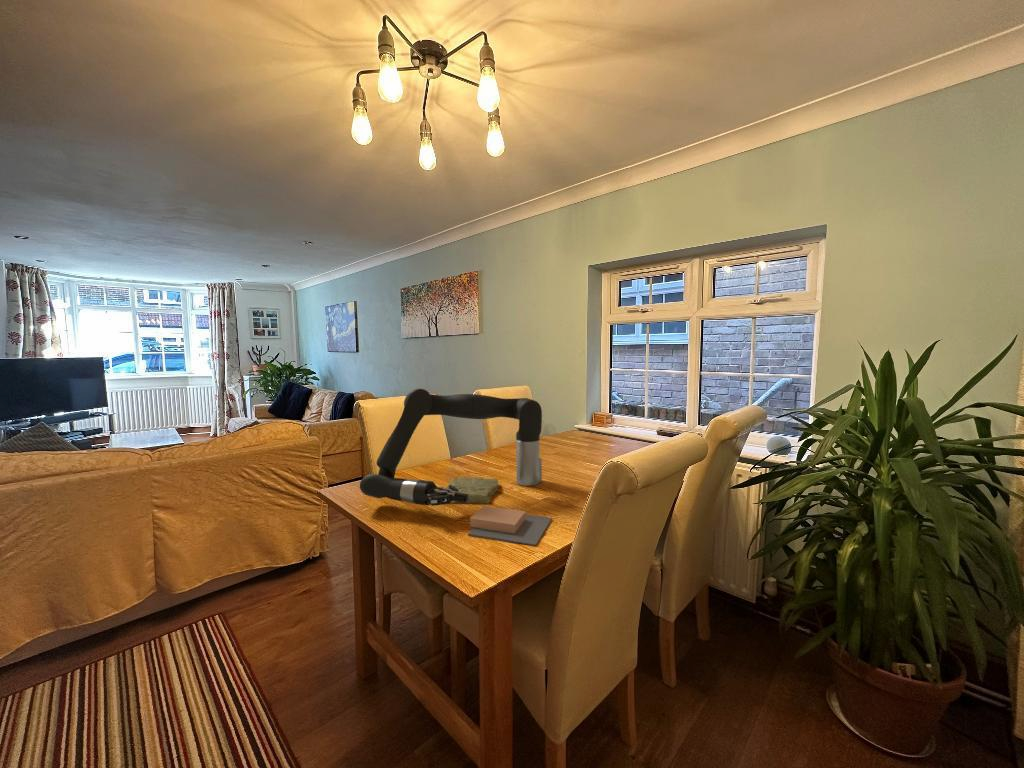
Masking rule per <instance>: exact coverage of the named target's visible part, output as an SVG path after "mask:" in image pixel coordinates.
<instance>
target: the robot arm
mask: <svg viewBox="0 0 1024 768" xmlns="http://www.w3.org/2000/svg"><path fill="white" fill-rule="evenodd" d="M403 407H404V408H403V410H402V414H401V416H400V418H399V420H398V422H397V423H396V425H395V428H394V429H393V431H392V432H391V434H390V436H389V437H388V439H386V442H385V444H384V446H383V447H382V449H381V452H380V454H379V456H378V458H377V459H376V463H375V464H376V466H377V467H378V468H379V470H378V474H377V473H369V474H367V475H365V476H364V477H362V478H361V480H360V482H359V489H360V491H361V493H362V494H363V495H365V496H368V497H372V498H375V499H383V498H386V499H387V498H388V499H390V500H393V501H398V502H404V503H408V504H414V505H422V506H433V507H435V506H441V505H443V506H445V505H450V504H451V502H455V501H458V502H467V501H468V494H464V493H458V489H457V488H455V487H454V486H452V485H449V486H448V485H447V486H448V488H446V487H444V486H437V484H436V483H435V482H434V481H432V480H431V481H430V480H423V479H416V478H414V479H413V478H411V479H410V478H409V479H408V478H401V477H395V475H396V471H397V468H398V465H399V464H400V462H401V460H402V457H403V456H404V454H405V452H406V450H407V447H408V445H409V443H410V440H411V439H412V436H413V434H414V433H415V431H416V429H417V427H418V425H419V424H420V423H421V421H422V419H423V418H424V417H425V416H447V417H451V418H452V417H455V418H460V419H469V420H489V419H495V418H509V419H514V420H518V430H517V432H516V433H515V439H516V440H515V455H516V456H515V458H516V459H515V460H516V461H515V462H516V463H515V464H516V465H515V466H516V467H515V468H516V470H515V471H516V474H515V475H516V477H515V479H516V483H517V484H518V485H521V486H529V487H530V486H537V485H538V484H540V483H542V482H543V475H542V474H543V467H542V466H543V465H542V463H543V459H542V458H541V457H540V455H541V454H540V453H541V452H540V450H541V449H540V445H541V444H540V439H541V437H540V436H541V433H542V429H543V428H542V425H543V424H542V423H543V412H542V411H543V409H542V406H541V405H540V403H539V402H538V401H536V400H534V399H531V398H526V397H520V398H501V397H496V396H491V395H486V394H485V395H484V394H474V393H473V394H472V393H461V394H450V395H442V394H441V395H438V394H434V393H433V394H432V393H430V392H428V390H426V389H425V388H415V389H412V390H410V392H408V394H406V396H405V398H404V400H403Z"/></svg>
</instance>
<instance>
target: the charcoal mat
mask: <svg viewBox="0 0 1024 768" xmlns="http://www.w3.org/2000/svg"><path fill="white" fill-rule="evenodd" d="M552 520H553V517H548V516H540V515H532V514H526V519H525V521H524V522H523V523H522V525H521V526H520V527H519V529H518V530H517V531H516V533H515V534H514V533H507V532H501V531H494V530H488V529H481V528H475V527H472V528H471V530H470V531H468V533H467V536H470V537H476V538H483V539H488V540H495V541H500V542H508V543H512V542H513V543H514V544H518V543H521V544H520V545H525V544H528V545H527V546H531V545H534V546H533V547H537V545H538V544H539V542H540V540H541V538H542V536H543V535H544V534H545V532H546V530H547V528H548V527H549V525H550V523H551V522H552ZM538 541H539V542H538ZM513 543H512V544H513Z"/></svg>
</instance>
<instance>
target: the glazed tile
mask: <svg viewBox="0 0 1024 768" xmlns="http://www.w3.org/2000/svg"><path fill="white" fill-rule="evenodd" d="M526 515H527V512H526V511H525V510H520V509H519V510H518V509H510V508H503V507H495V506H488V505H482V507H481V508H479V509H478V511H476V512H475V513H474V514H473V515H472V516H471V517H470V518H469V526H470V527H471V528H474V527H475V528H481V529H488V530H494V531H501V532H507V533H514V534H515V533H516V531H517V530H518V529H519V527H520V526H521V525H522V523H523V522H524V521H525V519H526Z"/></svg>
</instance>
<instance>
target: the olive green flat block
mask: <svg viewBox="0 0 1024 768" xmlns="http://www.w3.org/2000/svg"><path fill="white" fill-rule="evenodd" d="M449 485H452V486H454V487H455V488H457V489H458V493H464V494H468V501H467V502H458V501H455V502H452V504H489V503H490V501H491V498H492V497H493V496H494V495H495V494H496V493H497V492H496V491H498V489H499V486H500V485H499V480H498V478H484V477H479V476H477V477H466V476H465V477H454V478H452V480H450V482H449V483H448V485H446V487H445V488H448V486H449ZM498 485H499V486H498ZM495 492H496V493H495ZM494 493H495V494H494ZM492 495H493V496H492ZM491 496H492V497H491ZM490 497H491V498H490Z"/></svg>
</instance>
